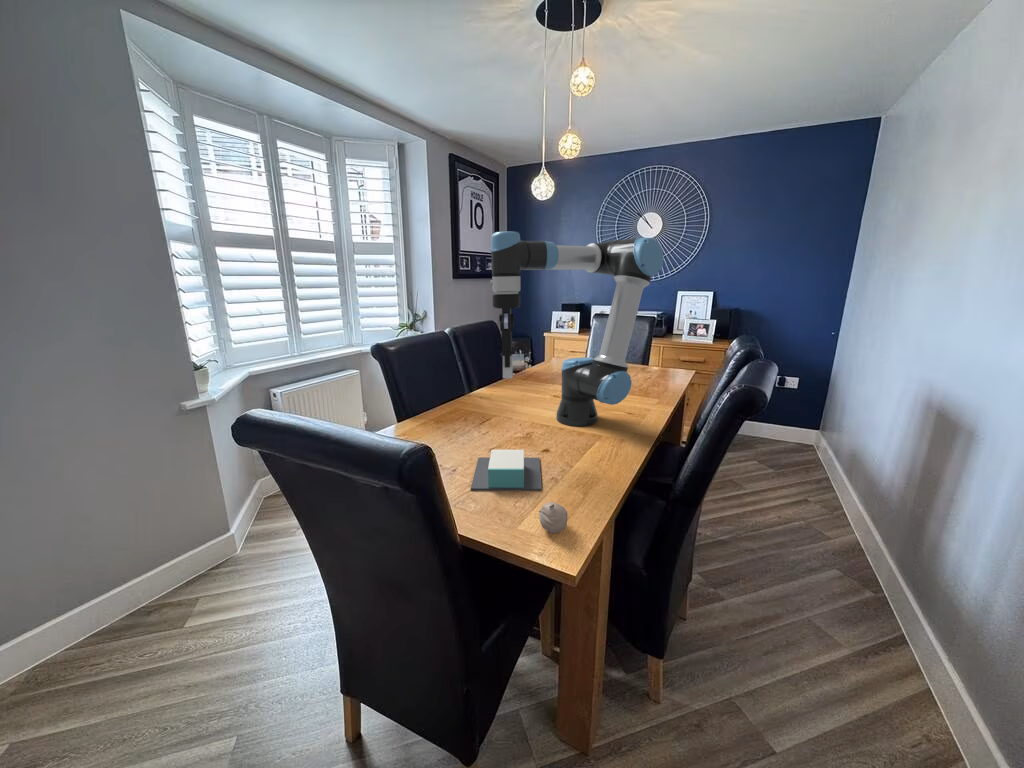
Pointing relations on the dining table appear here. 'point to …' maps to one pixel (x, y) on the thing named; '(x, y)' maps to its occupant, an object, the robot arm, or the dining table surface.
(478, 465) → the rubber mat
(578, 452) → the dining table surface
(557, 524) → the garlic bulb
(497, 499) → the dining table surface
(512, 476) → the grey teal block
